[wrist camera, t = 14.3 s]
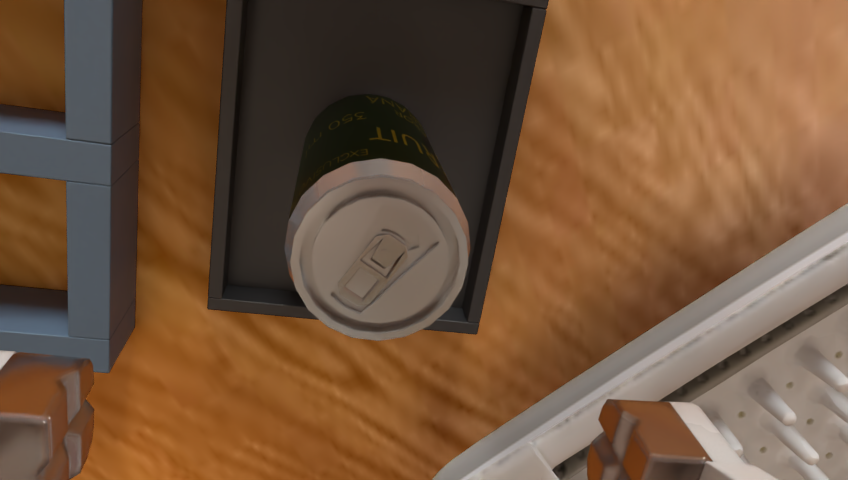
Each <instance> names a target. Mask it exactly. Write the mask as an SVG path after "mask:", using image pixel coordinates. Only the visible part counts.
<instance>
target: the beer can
mask: <svg viewBox="0 0 848 480" xmlns="http://www.w3.org/2000/svg"><path fill="white" fill-rule="evenodd" d="M284 249H285V254H286V259H287V264H288V269H289V274H290V277H291V278H292V280H293V282H294V284H295V288H296V290H297V292H298V293H299V295H300V297H301V298H302V300H303V302H304V304H305V305H306V307H307V309H308V310H309V311H310V312H311V313H312V314H314V315H315V316H316V317H317V318H318V319H319V320H320V321H322V322H323V323H324V324H325V325H326V326H327V327H329V328H331V329H334V330H336V331H338V332H341V333H343V334H345V335H347V336H350V337H352V338H360V339H368V340H375V341H381V340H388V339H394V338H401V337H406V336H408V335H410V334H412V333H415V332H417V331H419V330H421V329H423V328H426V327H428V326H430V325H431V324H432V323H433V322H434V321H435V320H437V319H438V318H439V317H440V316H441V315H442V314H444V313H445V312H446V311H447V310H448V309H449V308H450V306H451V305H452V303H453V301H454V300H455V298H456V297H457V295H458V294H459V292H460V290H461V289H462V287H463V283H464V279H465V275H466V271H467V267H468V257H469V253H470V238H469V227H468V221H467V219H466V217H465V215H464V213H463V210H462V208H461V206H460V204H459V202H458V199H457V197H456V195H455V193H454V191H453V189H452V187H451V185H450V183H449V181H448V179H447V177H446V175H445V173H444V171H443V169H442V167H441V164H440V162H439V160H438V158H437V156H436V154H435V152H434V150H433V148H432V146H431V144H430V142H429V140H428V138H427V136H426V134H425V132H424V130H423V128H422V126H421V124H420V122H419V121H418V120H417V118H416V117H415V116H414V115H413V114H412V113H411V112H410V111H409V110H408V109H407V108H406V107H405V106H403V105H401V104H399V103H398V102H396V101H394V100H392V99H390V98H388V97H383V96H378V95H373V94H361V95H353V96H347V97H345V98H343V99H341V100H339V101H337V102H334V103H332V104H330V105H329V106H328V107H327V108H326V109H325V110H323V111H322V112H321V113H320V114H319V115H318V116H317V117H316V118H315V119H314V121H313V123H312V125H311V127H310V129H309V131H308V133H307V135H306V137H305V141H304V146H303V151H302V156H301V161H300V166H299V171H298V176H297V181H296V186H295V191H294V196H293V201H292V206H291V211H290V216H289V221H288V227H287V234H286V241H285V247H284Z"/></svg>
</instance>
